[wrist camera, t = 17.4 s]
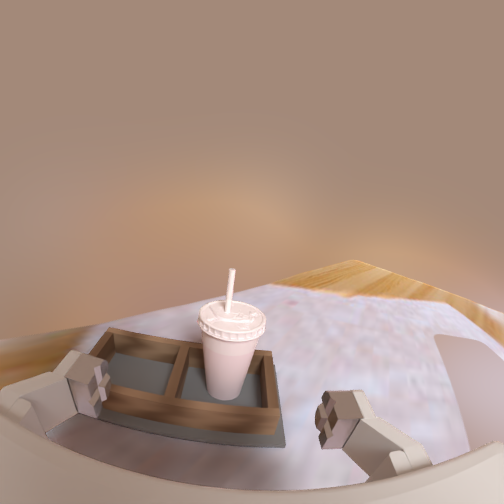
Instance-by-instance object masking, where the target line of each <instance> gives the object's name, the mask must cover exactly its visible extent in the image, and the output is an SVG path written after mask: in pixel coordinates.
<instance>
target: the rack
mask: <svg viewBox="0 0 504 504" xmlns="http://www.w3.org/2000/svg"><path fill="white" fill-rule="evenodd" d="M115 353H120V354H124V355H129V356H133V357H138V358H143V359H148V360H153V361H158V362H164V363H169V364H174V367H173V370H172V373H171V376H170V379H169V382H168V385H167V388H166V391H165V394H164V396H163V395H158V394H153V393H148V392H144V391H139V390H135V389H130V388H126V387H122V386H118V385H115V384H111V390H110V394H109V396H108V398H107V399H106V400H104V401H102V406H103V408H105V409H108V410H112V411H115V412H119V413H123V414H126V415H130V416H134V417H139V418H143V419H147V420H152V421H156V422H161V423H166V424H172V425H177V426H183V427H190V428H196V429H204V430H211V431H220V432H230V433H243V434H259V435H274V434H275V431H276V428H277V424H278V421H279V418H280V411H279V404H278V396H277V389H276V381H275V373H274V366H273V358H272V351H264V350H255V351H254V354H253V357H252V360H251V363H250V365H249V368H248V371H247V374H257V375H260V386H261V401H262V408H260V407H245V406H234V405H224V404H215V403H207V402H199V401H193V400H186V399H181V395H182V391H183V387H184V383H185V380H186V376H187V372H188V368H189V367H194V368H202V369H205V364H204V353H203V344H200V343H193V342H186V341H180V340H173V339H167V338H161V337H156V336H150V335H145V334H140V333H134V332H130V331H125V330H120V329H115V328H111V327H109V328H108V329H107V331H106V332H105V333H104V335H103V336H102V337H101V338H100V340H99V341H98V342H97V344H96V345H95V346H94V348H93V349H92V350H91V352H90V353H89V354H88V355H91V356H94V357H97V358H101V359H104V360H106V361H107V362H108V364H109V363H110V361H111V359H112V358H113V356H114V355H115Z"/></svg>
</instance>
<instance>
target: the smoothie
mask: <svg viewBox="0 0 504 504" xmlns="http://www.w3.org/2000/svg"><path fill="white" fill-rule="evenodd" d="M235 272H236V269H233V268H230V269H229V277H228V286H227V294H226V300H218V301H213V302H210V303H207V304H205V305H204V306H202V307H201V308H200V310H199V318H198V324H199V326H200V328H201V329H202V341H203V353H204V364H205V375H206V385H207V391H208V393H209V394H210V395H211V396H212V397H214V398H216V399H219V400H232V399H234V398H236V397H237V396H238V395H239V394H240V391H241V388H242V386H243V383H244V380H245V377H246V374H247V371H248V368H249V365H250V363H251V360H252V357H253V354H254V351H255V348H256V345H257V342H258V339H259V337H260V336H261V335H262V334H263V333H264V331H265V323H266V317H265V315H264V314H263V313H262V312H261V311H260V310H259V309H258V308H256V307H254V306H252V305H250V304H247V303H244V302H240V301H233V300H232V295H233V286H234V279H235Z"/></svg>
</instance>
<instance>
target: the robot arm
mask: <svg viewBox="0 0 504 504" xmlns="http://www.w3.org/2000/svg"><path fill="white" fill-rule="evenodd" d="M108 369H109V367H108V362H107V361H106V360H104V359H101V358H97V357H94V356H91V355H88V354H85V353H81V352H78V351H76V350H71V351H70V352H69V353H68V354H67V355H66V356H65V358H64V359H63V360H62V361H61V362H60V364H59V365H58V366H57V367H56V369H55V370H54V371H53V372H46V373H43V374H40V375H38V376H35V377H32V378H29V379H26V380H23V381H20V382H17V383H14V384H11V385H8V386H5V387H3V388H2V389H1V391H0V504H504V444H503V443H501V442H498V441H493V442H490V443H488V444H486V445H483V446H481V447H479V448H477V449H475V450H472V451H470V452H468V453H465V454H463V455H460V456H458V457H455V458H453V459H450V460H447V461H445V462H442V463H439V464H436V465H432V463H431V461H430V459H429V457H428V455H427V453H426V451H425V449H424V448H423V446H422V444H420V443H419V442H417V441H415V440H414V439H412V438H411V437H409V436H408V435H406V434H404V433H403V432H401V431H400V430H398V429H397V428H395V427H394V426H392V425H391V424H389V423H388V422H386V421H385V420H383V419H382V418H380V417H376V416H375V414H374V411H373V409H372V407H371V405H370V403H369V401H368V399H367V397H366V395H365V393H364V391H362V390H350V391H325V392H324V393H323V396H322V401H323V403H322V404H320V405H319V406H318V407H317V410H316V414H315V425H316V428H317V429H318V430H319V431H320V432H321V433H320V434H319V436H318V437H319V441H320V445H321V449H341V448H343V449H342V450H343V451H344V452H345V453H346V454H347V455H348V456H349V457H350V458H351V459H352V460H353V461H354V462H355V463H356V464H357V465H358V466H359V467H360V468H361V469H362V470H364V471H365V472H366V473H367V474H368V475H369V476H370V477H369V478H368V480H367V481H366V482H365V483H360V484H353V485H347V486H339V487H330V488H320V489H307V490H281V491H266V490H240V489H227V488H217V487H208V486H201V485H194V484H187V483H182V482H176V481H171V480H166V479H161V478H157V477H152V476H148V475H144V474H140V473H137V472H133V471H129V470H126V469H123V468H119V467H116V466H113V465H110V464H107V463H104V462H101V461H98V460H95V459H93V458H90V457H87V456H85V455H82V454H80V453H77V452H75V451H72V450H70V449H68V448H65V447H63V446H61V445H59V444H56V443H54V442H52V441H50V440H49V439H48V437H47V435H46V432H47V431H49V430H51V429H52V428H54V427H56V426H57V425H59V424H61V423H63V422H64V421H66V420H67V419H69V418H71V417H72V416H74V415H76V414H77V412H78V413H81V414H84V415H87V416H90V417H93V418H97V417H98V415H99V413H100V412H101V410H102V408H103V406H102V401H104V400H106V399H107V398H108V396H109V394H110V390H111V378H110V376H109V375H108V374H107V371H108Z"/></svg>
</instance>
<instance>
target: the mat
mask: <svg viewBox="0 0 504 504" xmlns="http://www.w3.org/2000/svg"><path fill="white" fill-rule="evenodd" d="M273 366H274V373H275V381H276V389H277V396H278V404H279V411H280V418H279V421H278V424H277V428H276V431H275V434H274V435H259V434H243V433H230V432H220V431H211V430H204V429H196V428H190V427H183V426H177V425H172V424H166V423H161V422H156V421H152V420H147V419H143V418H139V417H134V416H130V415H126V414H123V413H119V412H115V411H112V410H108V409H105V408H102V410H101V412H100V413H99V415H98V417H97V419H100V420H104V421H107V422H110V423H114V424H117V425H121V426H124V427H128V428H132V429H136V430H140V431H144V432H149V433H153V434H158V435H163V436H168V437H173V438H179V439H185V440H191V441H198V442H206V443H214V444H223V445H235V446H249V447H279V448H285V445H286V444H285V436H284V429H283V421H282V414H281V407H280V399H279V392H278V385H277V378H276V370H275V365H273ZM108 367H109V369H108V371H107V374H108V375H109V376H110V378H111V384H115V385H118V386H122V387H126V388H130V389H135V390H139V391H144V392H148V393H153V394H158V395H163V396H164V394H165V391H166V388H167V385H168V382H169V379H170V376H171V373H172V370H173V367H174V364H169V363H164V362H158V361H153V360H148V359H143V358H138V357H133V356H129V355H124V354H120V353H115V355H114V356H113V358H112V359H111V361H110V363H109V364H108ZM181 399H186V400H193V401H199V402H207V403H215V404H224V405H234V406H245V407H260V408H262V401H261V386H260V375H257V374H246V377H245V380H244V383H243V386H242V388H241V391H240V394H239V395H238V396H237V397H236V398H234V399H232V400H219V399H216V398H214V397H212V396H211V395H210V394H209V393H208V391H207V385H206V375H205V369H202V368H194V367H189V368H188V372H187V376H186V380H185V383H184V387H183V391H182V395H181Z"/></svg>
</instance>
